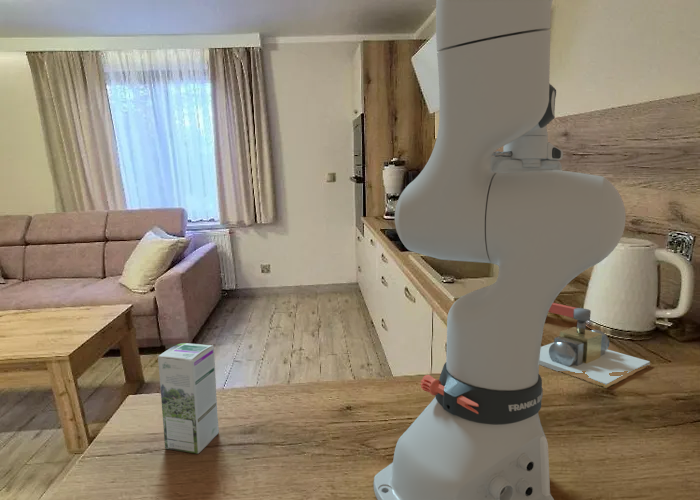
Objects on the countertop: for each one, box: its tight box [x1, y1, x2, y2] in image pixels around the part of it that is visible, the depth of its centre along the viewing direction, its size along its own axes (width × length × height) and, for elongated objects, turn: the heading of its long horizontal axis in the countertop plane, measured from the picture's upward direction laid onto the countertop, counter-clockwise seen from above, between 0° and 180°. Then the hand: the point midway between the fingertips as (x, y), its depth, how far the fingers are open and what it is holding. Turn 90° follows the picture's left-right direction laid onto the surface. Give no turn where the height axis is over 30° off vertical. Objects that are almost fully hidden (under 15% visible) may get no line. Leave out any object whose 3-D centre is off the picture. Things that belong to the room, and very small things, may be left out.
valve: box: [549, 320, 610, 366], centre depth 88 cm, size 15×6×9 cm, turn 123°
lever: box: [548, 302, 592, 322], centre depth 91 cm, size 3×12×2 cm, turn 33°
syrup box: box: [157, 342, 220, 455], centre depth 59 cm, size 6×6×14 cm
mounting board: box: [539, 342, 651, 385], centre depth 88 cm, size 19×18×1 cm
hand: (522, 215), depth 89 cm, fingers open, 8 cm apart
